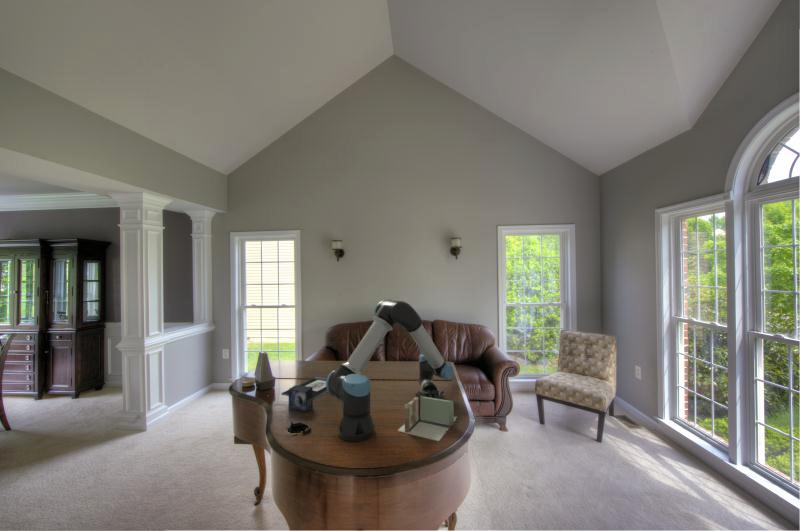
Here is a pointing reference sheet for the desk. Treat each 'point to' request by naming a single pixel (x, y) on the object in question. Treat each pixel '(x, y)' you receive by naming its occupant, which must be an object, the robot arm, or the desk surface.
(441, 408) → the hinged panel
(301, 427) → the black jagged lump
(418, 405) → the fixed fence
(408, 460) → the desk surface
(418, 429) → the card
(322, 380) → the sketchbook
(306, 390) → the small box
